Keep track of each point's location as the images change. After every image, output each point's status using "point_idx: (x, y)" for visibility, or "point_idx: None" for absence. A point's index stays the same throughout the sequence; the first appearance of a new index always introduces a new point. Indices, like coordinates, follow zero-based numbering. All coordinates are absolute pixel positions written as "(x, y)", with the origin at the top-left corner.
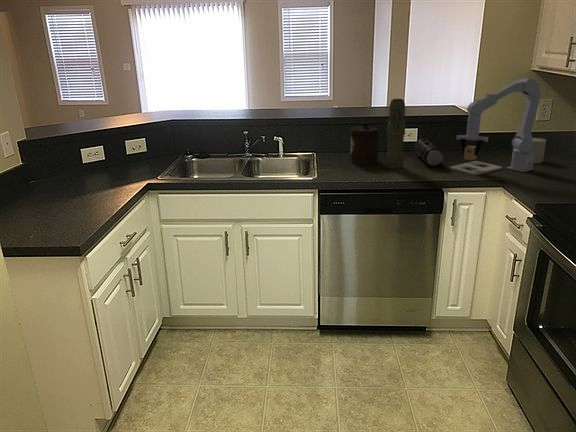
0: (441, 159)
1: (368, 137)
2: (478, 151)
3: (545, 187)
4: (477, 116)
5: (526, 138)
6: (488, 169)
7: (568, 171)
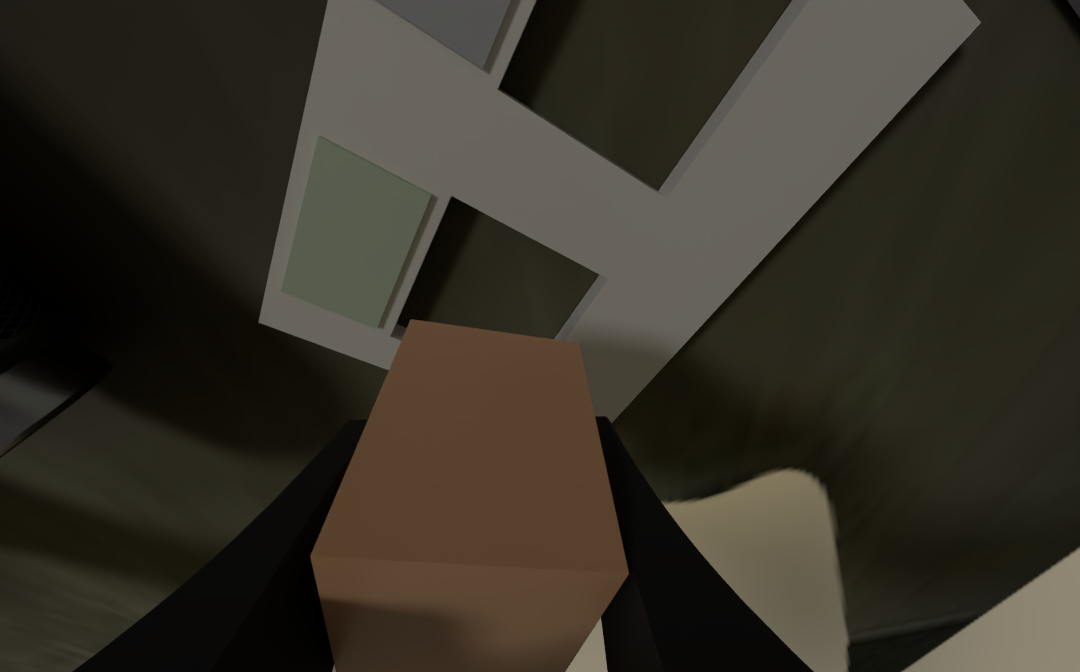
0: (75, 400)
1: None
2: (636, 474)
3: (1019, 501)
4: None
5: None
6: (723, 273)
7: None
